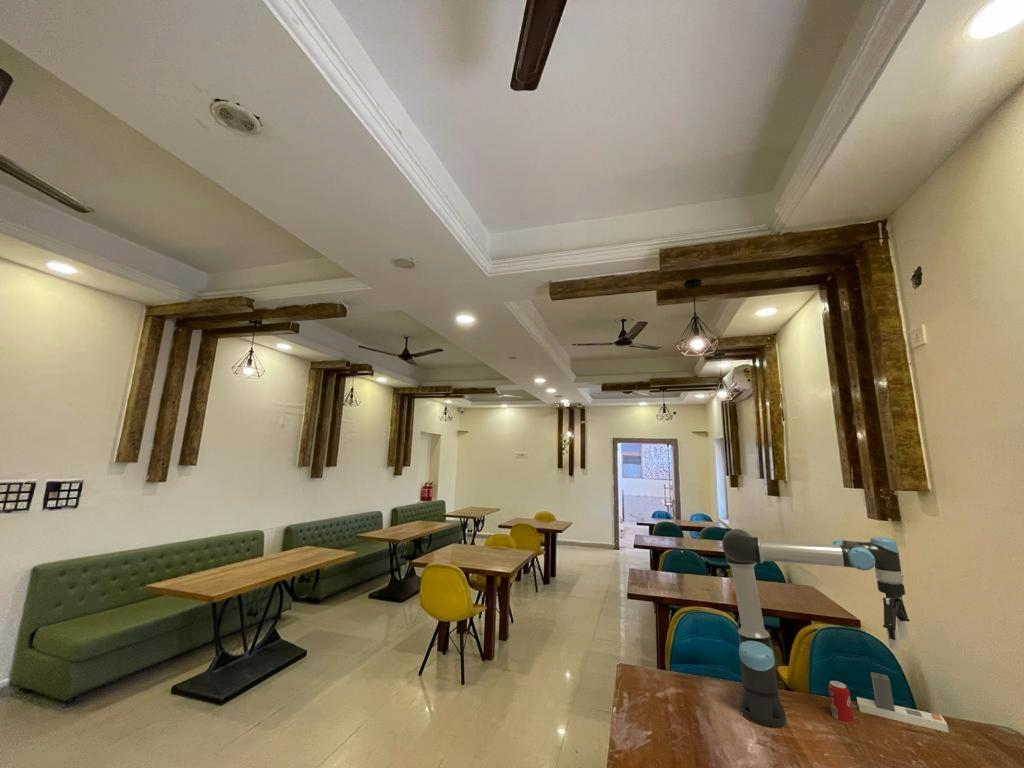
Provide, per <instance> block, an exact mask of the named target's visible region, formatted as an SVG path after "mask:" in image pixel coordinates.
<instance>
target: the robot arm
mask: <svg viewBox="0 0 1024 768" xmlns="http://www.w3.org/2000/svg"><path fill="white" fill-rule="evenodd" d="M721 545H722V546H721V547H722V549H723V552H724V555H725V561H726V563H727V564H728V565H729V566H730V568H731V574H732V579H733V585H734V590H735V591H734V592H735V597H736V603H737V604H736V605H737V609H738V614H739V616H738V617H739V622H740V628H739V629H738V630H737V633H738V641H739V646H738V647H739V648H738V655H739V656H738V657H739V662H740V672H741V682H742V691H741V696H740V699H739V711H740V710H741V712H742V713H743V715H744V716H746V717H747V718H748V719H749V721H750V720H751V721H750V722H752V721H753V722H752V723H754V722H755V724H757V723H758V724H757V725H760V726H763V725H765V726H764V727H768V726H772V727H771V728H780V727H784V726H786V724H787V721H788V720H787V713H786V711H785V709H784V706H783V704H782V702H781V699H780V697H779V690H778V681H777V674H776V672H777V671H776V664H775V661H776V660H775V659H776V658H775V652H774V648H773V646H772V644H773V643H772V640H771V635H770V633H769V632H768V630H766V629H765V624H764V618H763V612H762V606H761V602H760V596H759V595H760V594H759V590H758V584H757V580H756V574H755V567H756V565H757V564H763V563H764V562H779V563H789V564H790V563H792V564H805V565H816V566H817V565H818V566H819V565H820V566H830V567H831V566H832V567H843V568H854V569H857V570H860V571H870V570H872V569H873V568H874V571H875V572H874V573H875V578H876V580H877V581H876V583H877V584H876V585H877V590H878V591H879V592H880V593H883V594H885V597H882V600H883V601H882V602H883V624H882V627H883V628H884V629H886V633H887V639H888V640H887V641H888V647H889V649H894V650H896V651H901V647H900V640H901V641H906V642H910V635H909V627H908V623H909V622H910V618H908V617H909V616H908V613H907V610H906V607H905V604H904V600H903V596H905V595H906V590H905V585H904V579H903V578H904V577H905V574H904V573H902V567H901V566H902V565H901V561H900V552H899V549H898V545H897V542H896V541H895V540H894V539H893V538H889V537H880V536H872V537H870V541H868V542H867V541H866V542H864V541H852V540H845V539H842V540H840V539H839V540H838V539H837V540H836V539H835V540H833V542H832V544H830V543H829V544H828V543H813V542H812V543H811V542H795V541H794V542H793V541H781V540H780V541H778V540H763V539H761V538H760V537H758V536H757V537H755V536H751V534H749V533H748V532H747V531H745V530H743V529H739V528H733V529H730V530H728V531H726V532H725V534H724V535H723V539H722V543H721ZM741 712H740V713H741ZM743 715H742V716H743ZM744 716H743V717H744ZM746 717H745V718H746ZM747 718H746V719H747ZM748 719H747V720H748Z"/></svg>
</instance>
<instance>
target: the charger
mask: <svg viewBox="0 0 1024 768" xmlns="http://www.w3.org/2000/svg"><path fill="white" fill-rule="evenodd" d="M870 677H871V683H872V688H873V694H874V701H875V702H876V704H877V706H878V708H881V709H885V710H890V711H895V709H894V698H893V691H892V686H891V680H890V678H889V676H888V675H887V674H884V673H883V674H882V673H878V672H871V671H870Z"/></svg>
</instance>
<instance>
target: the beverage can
mask: <svg viewBox="0 0 1024 768" xmlns="http://www.w3.org/2000/svg"><path fill="white" fill-rule="evenodd" d="M827 688H828V695H829V696H828V697H829V703H830V710H831V715H832V717H833V718H834V719H835V720H837V721H840V722H842V723H848V724H849V723H854V715H853V714H854V713H853V707H852V706H851V705H852V701H851V694H850V690H849V688H848V687H847V685H846V684H845V683H843V682H841V681H839V680H838V681H837V680H830V681H829V684H828V685H827Z"/></svg>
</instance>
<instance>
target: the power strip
mask: <svg viewBox="0 0 1024 768" xmlns="http://www.w3.org/2000/svg"><path fill="white" fill-rule="evenodd" d="M856 702H857V705H854V704H851V706H852V708H854V709H855V708H856V709H859V712H861V713H864V714H869V715H872V716H873V715H874V716H877V717H882V718H884V719H885V718H886V719H889V720H890V719H891V720H895V721H898V722H902V723H907V724H911V725H916V726H919V727H924V728H929V729H932V730H937V731H940V732H941V731H942V732H945V733H949V732H950V731H949V727H948V723H947V721H946V720H945V719H944V717H943V715H940V714H936V713H930V712H927V711H922V710H918V709H912V708H909V707H905V706H900V705H894V709H895V711H890V710H885V709H881V708H878V706H877V704H876V702H875V700H873V699H867V698H864V697H860V696H856Z"/></svg>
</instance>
